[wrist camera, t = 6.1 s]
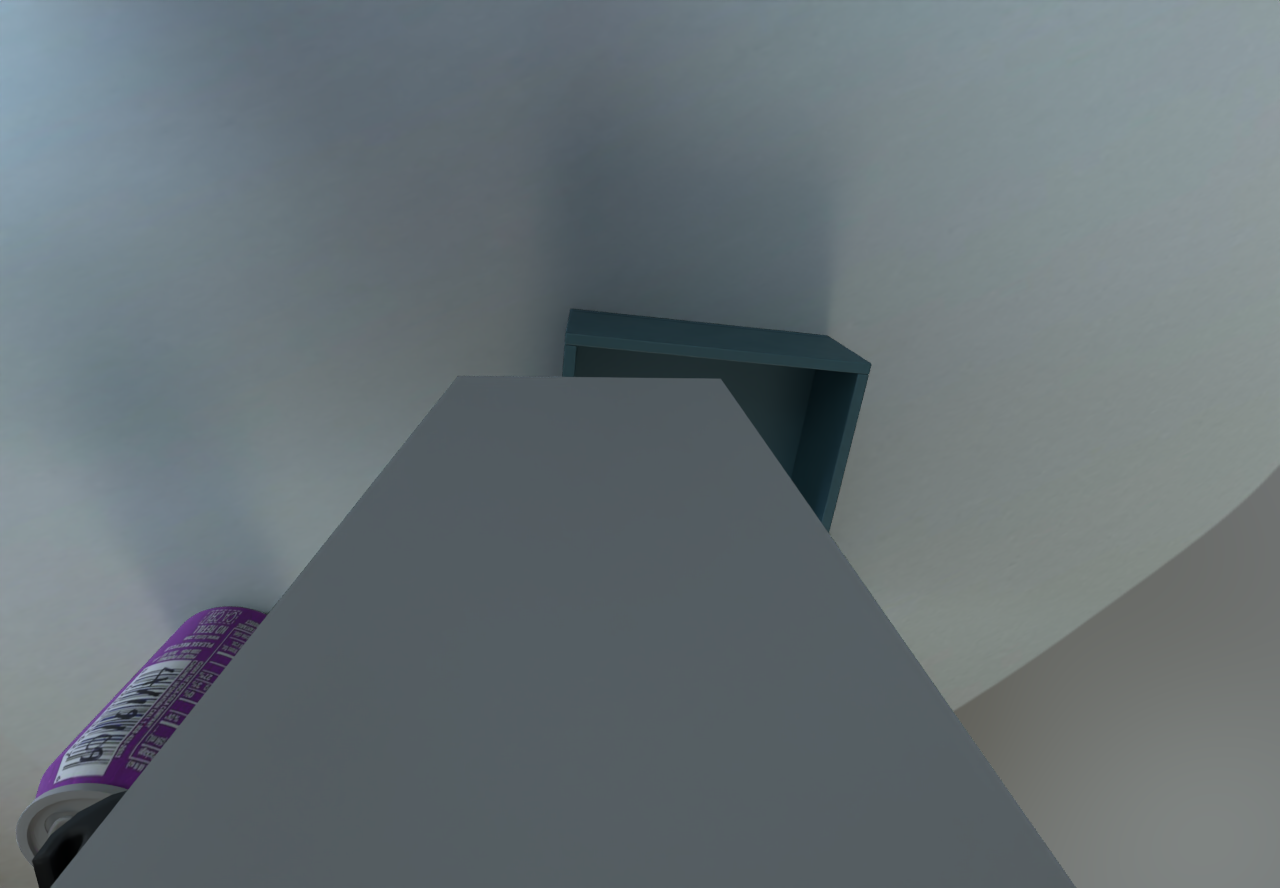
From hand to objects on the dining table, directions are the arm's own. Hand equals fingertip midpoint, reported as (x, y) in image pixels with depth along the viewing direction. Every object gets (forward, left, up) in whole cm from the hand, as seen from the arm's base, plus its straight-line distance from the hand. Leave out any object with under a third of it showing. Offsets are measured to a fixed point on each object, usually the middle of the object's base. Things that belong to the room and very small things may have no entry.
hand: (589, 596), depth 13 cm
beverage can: (+19, -18, -21) cm, 34 cm away
